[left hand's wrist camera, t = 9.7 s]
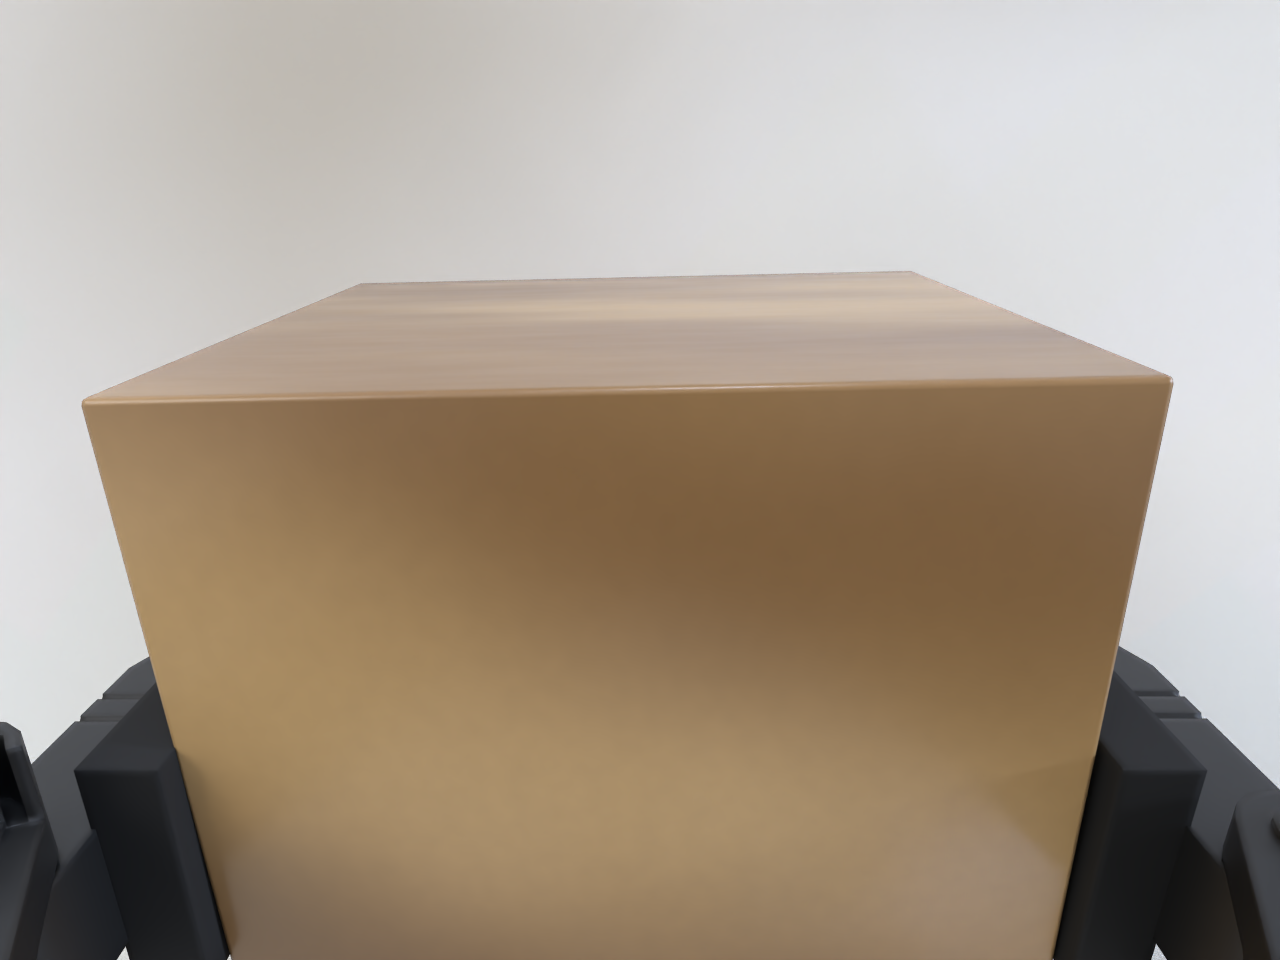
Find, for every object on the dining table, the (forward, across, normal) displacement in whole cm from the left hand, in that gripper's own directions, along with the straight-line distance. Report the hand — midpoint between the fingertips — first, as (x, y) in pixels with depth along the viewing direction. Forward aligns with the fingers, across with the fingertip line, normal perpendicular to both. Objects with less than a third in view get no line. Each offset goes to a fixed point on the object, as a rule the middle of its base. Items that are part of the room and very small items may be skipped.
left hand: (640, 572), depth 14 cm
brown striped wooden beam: (+1, +1, -25) cm, 25 cm away
